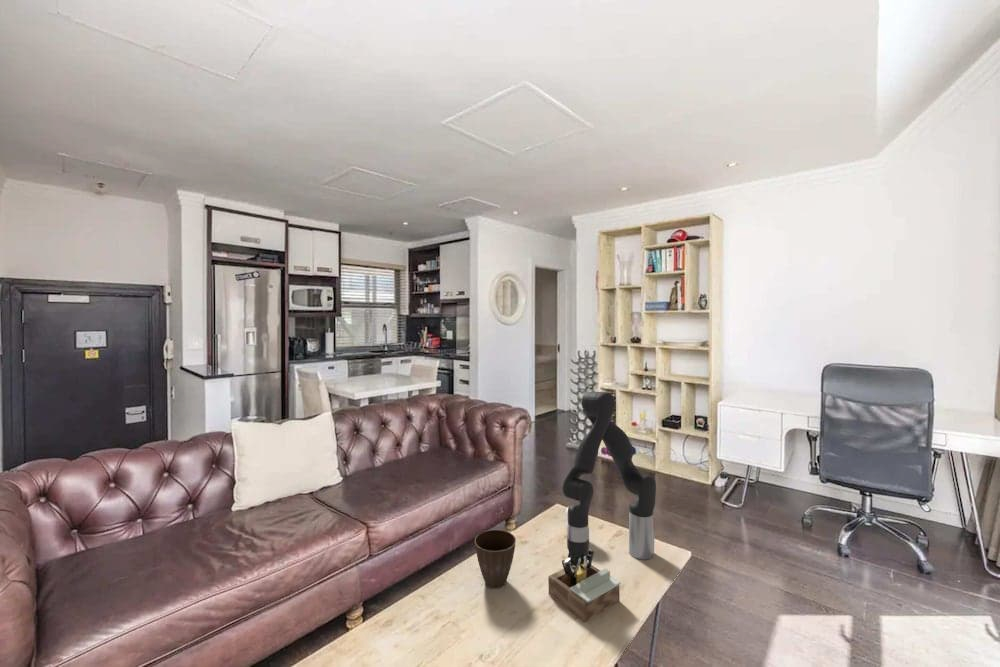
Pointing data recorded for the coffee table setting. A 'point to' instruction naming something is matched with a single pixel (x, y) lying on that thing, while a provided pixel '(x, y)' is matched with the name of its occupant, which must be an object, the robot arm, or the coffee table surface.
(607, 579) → the slide cover
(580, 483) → the robot arm
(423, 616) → the coffee table surface
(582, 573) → the block
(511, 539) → the plant pot
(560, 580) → the brown square open box
